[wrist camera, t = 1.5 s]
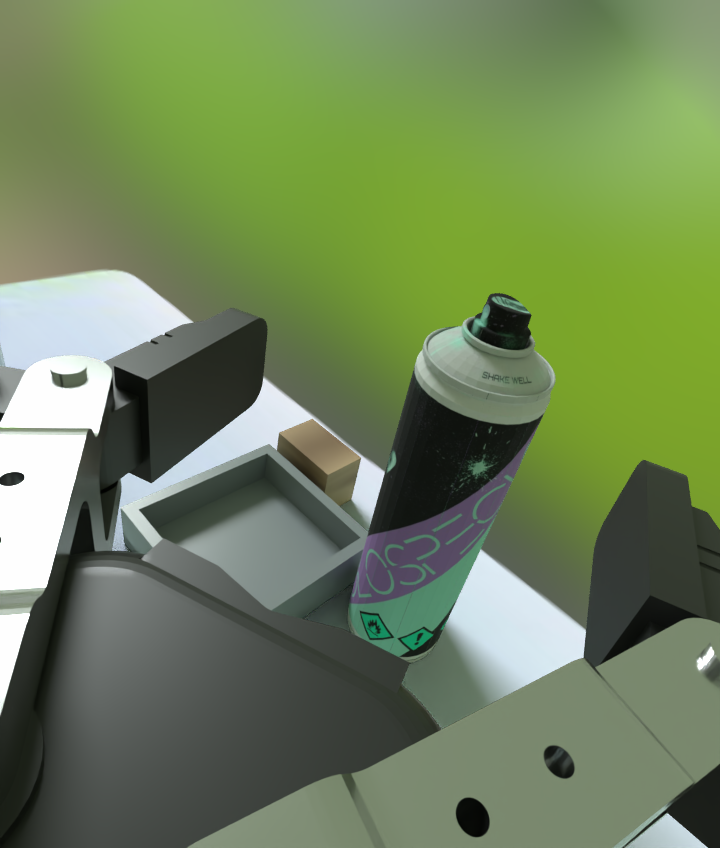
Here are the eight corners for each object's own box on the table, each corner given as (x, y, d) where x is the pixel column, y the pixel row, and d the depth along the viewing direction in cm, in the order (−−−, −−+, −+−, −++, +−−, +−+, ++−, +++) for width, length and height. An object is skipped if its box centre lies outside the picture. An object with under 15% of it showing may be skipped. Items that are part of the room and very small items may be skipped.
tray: (124, 542, 33) (120, 507, 31) (265, 476, 40) (269, 444, 38) (224, 673, 28) (226, 640, 26) (367, 571, 34) (377, 539, 33)
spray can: (327, 610, 32) (407, 282, 20) (392, 566, 35) (493, 264, 23) (394, 684, 29) (533, 353, 17) (458, 628, 32) (610, 320, 21)
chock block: (273, 476, 40) (279, 432, 38) (305, 461, 42) (312, 418, 40) (319, 518, 37) (327, 474, 35) (350, 500, 39) (361, 457, 37)
